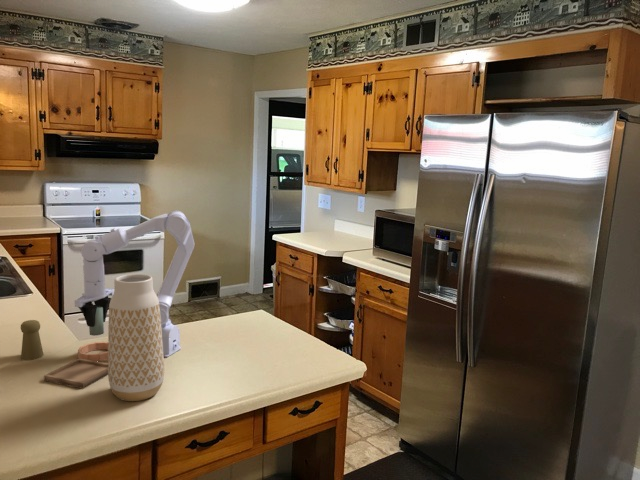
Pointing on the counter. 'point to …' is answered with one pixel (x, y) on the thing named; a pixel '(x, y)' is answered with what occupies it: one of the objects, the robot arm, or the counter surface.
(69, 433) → the counter surface
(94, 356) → the faceted terracotta ring
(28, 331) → the olive pepper mill
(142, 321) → the vase
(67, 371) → the walnut tray
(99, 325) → the gray-green peg
